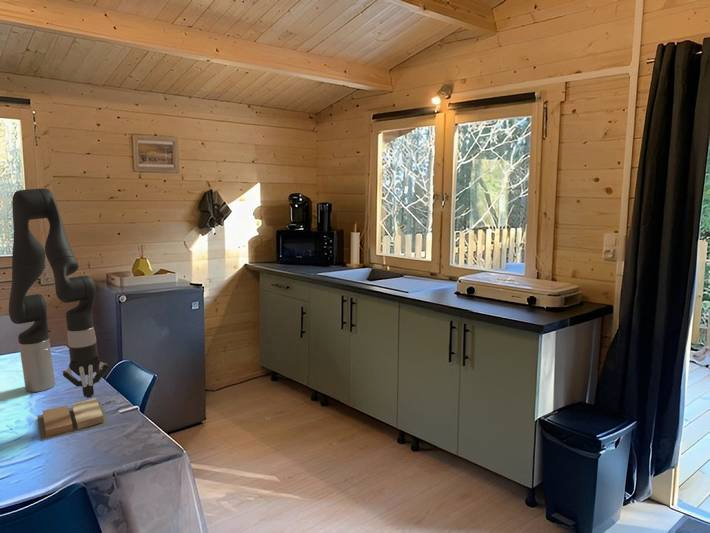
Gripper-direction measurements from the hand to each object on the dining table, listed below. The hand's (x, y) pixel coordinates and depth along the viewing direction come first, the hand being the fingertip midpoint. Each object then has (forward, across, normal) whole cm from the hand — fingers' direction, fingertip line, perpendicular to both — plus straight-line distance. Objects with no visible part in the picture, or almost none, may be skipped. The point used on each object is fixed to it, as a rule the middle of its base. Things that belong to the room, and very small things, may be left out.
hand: (88, 396), depth 170 cm
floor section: (+6, +5, +1) cm, 8 cm away
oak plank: (+6, +1, +1) cm, 6 cm away
